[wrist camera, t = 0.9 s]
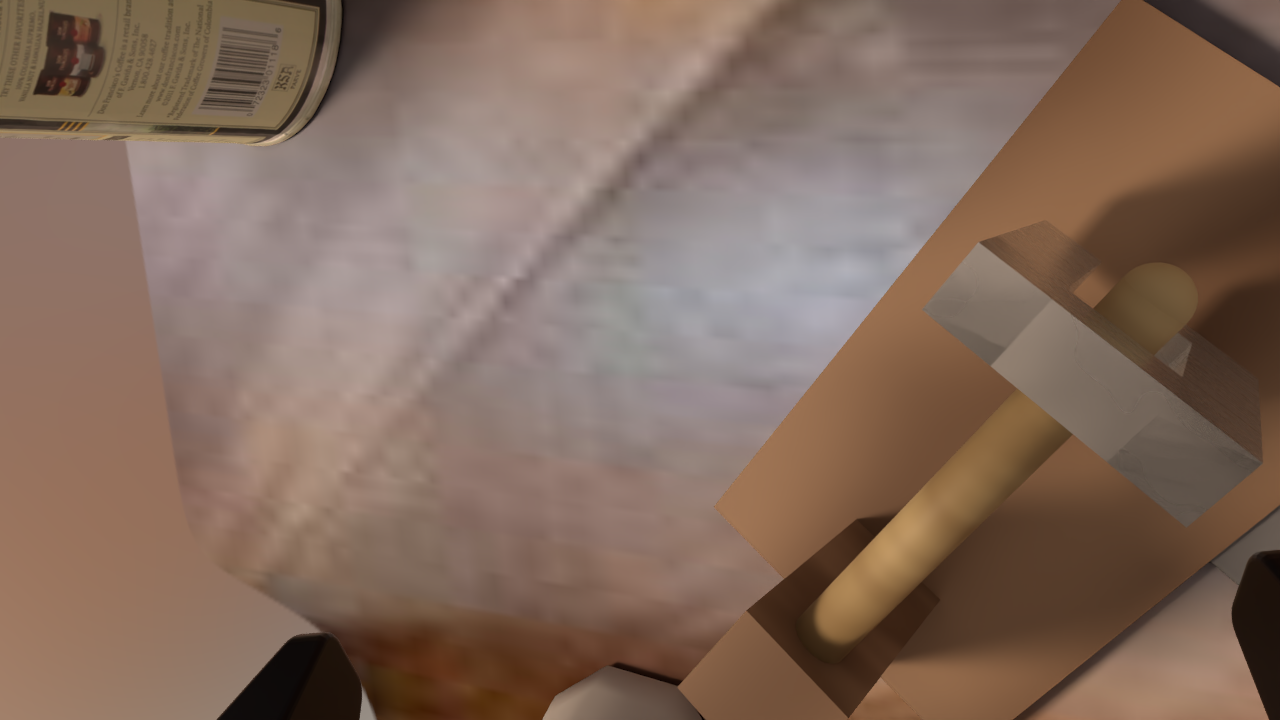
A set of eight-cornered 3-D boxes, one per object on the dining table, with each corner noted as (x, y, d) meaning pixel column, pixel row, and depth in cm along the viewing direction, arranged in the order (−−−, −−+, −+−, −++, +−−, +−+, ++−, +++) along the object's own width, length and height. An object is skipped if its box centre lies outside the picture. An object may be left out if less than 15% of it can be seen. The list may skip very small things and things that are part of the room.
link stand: (1561, 268, 17) (1705, 316, 11) (968, 748, 24) (877, 919, 19) (1132, -5, 19) (1076, -75, 14) (723, 501, 27) (582, 585, 22)
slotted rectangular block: (1258, 378, 18) (1263, 463, 13) (1201, 428, 19) (1186, 527, 14) (1045, 220, 20) (978, 242, 15) (1000, 271, 20) (921, 309, 15)
